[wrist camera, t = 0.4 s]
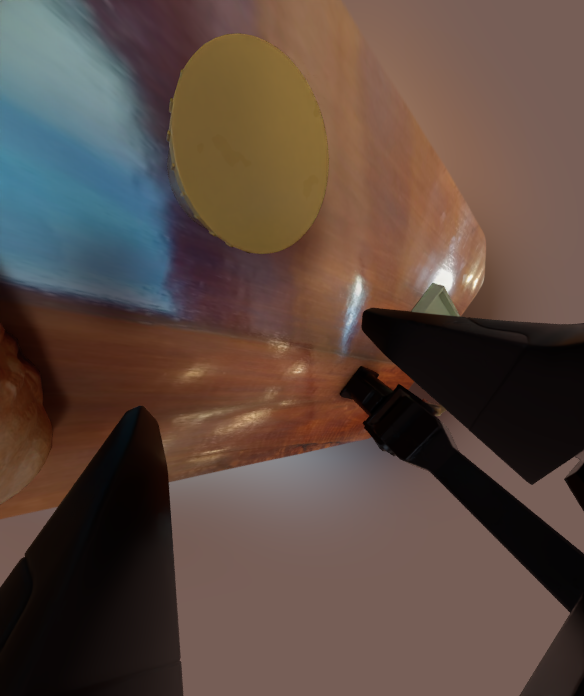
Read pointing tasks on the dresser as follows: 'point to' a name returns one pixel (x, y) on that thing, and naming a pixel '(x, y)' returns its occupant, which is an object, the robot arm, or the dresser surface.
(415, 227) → the dresser surface
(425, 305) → the tray
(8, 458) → the ceramic vessel
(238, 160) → the lid
